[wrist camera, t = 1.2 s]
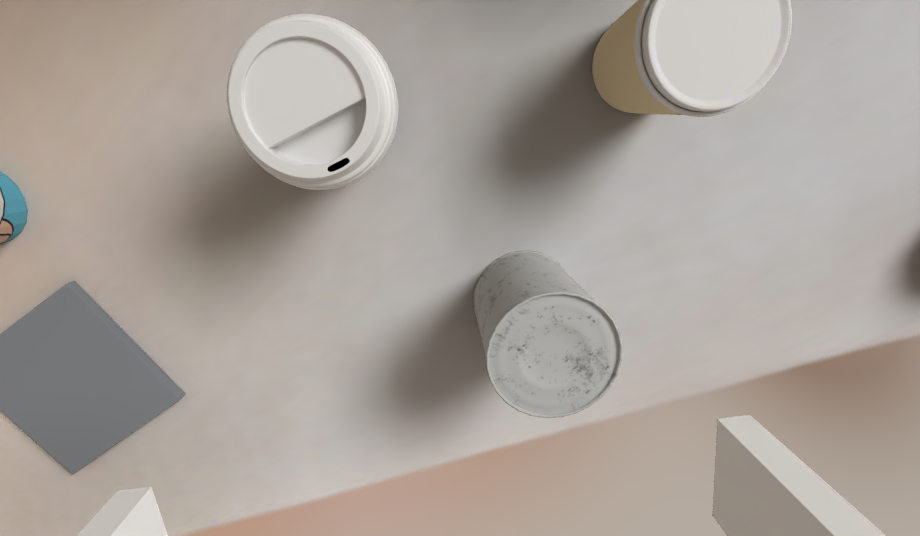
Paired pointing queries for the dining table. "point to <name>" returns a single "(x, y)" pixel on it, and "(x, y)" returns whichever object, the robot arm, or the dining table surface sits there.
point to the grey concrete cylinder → (544, 336)
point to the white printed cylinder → (11, 209)
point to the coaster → (78, 379)
